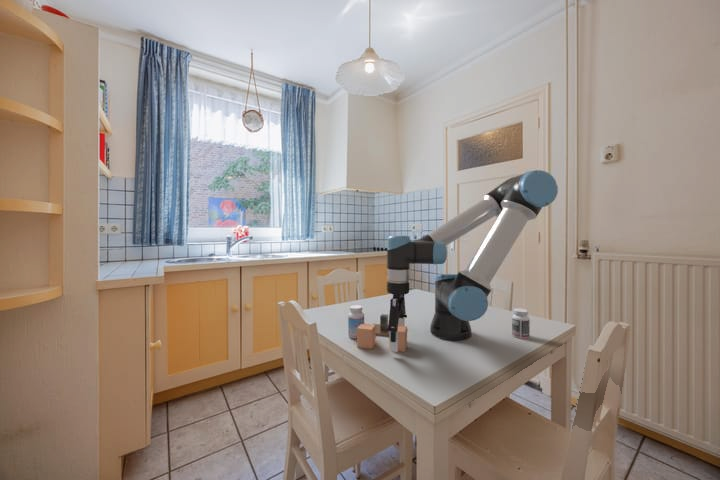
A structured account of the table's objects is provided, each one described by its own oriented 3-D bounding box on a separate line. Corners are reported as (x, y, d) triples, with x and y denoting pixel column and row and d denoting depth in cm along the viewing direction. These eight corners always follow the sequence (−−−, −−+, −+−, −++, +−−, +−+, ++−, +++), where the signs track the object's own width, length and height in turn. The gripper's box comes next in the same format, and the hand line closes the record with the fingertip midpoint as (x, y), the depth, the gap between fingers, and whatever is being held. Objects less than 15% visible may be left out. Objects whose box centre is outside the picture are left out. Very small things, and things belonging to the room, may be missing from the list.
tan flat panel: (406, 328, 116) (406, 313, 116) (402, 337, 107) (402, 321, 107) (372, 325, 121) (372, 310, 120) (366, 334, 111) (366, 317, 111)
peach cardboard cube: (375, 343, 102) (375, 324, 102) (371, 348, 97) (371, 329, 97) (361, 341, 104) (361, 323, 104) (357, 347, 99) (357, 328, 99)
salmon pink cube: (407, 345, 100) (407, 326, 100) (404, 351, 95) (404, 331, 95) (392, 343, 101) (392, 325, 101) (389, 349, 97) (389, 330, 96)
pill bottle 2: (528, 334, 109) (529, 308, 109) (530, 340, 104) (530, 313, 103) (511, 332, 111) (511, 307, 111) (512, 337, 106) (512, 311, 106)
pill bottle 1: (362, 339, 105) (362, 309, 105) (346, 338, 107) (346, 308, 106) (365, 333, 111) (365, 305, 111) (350, 332, 113) (350, 304, 112)
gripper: (394, 274, 110) (393, 329, 111) (378, 287, 87) (377, 356, 87) (413, 275, 108) (412, 331, 109) (403, 289, 84) (402, 360, 85)
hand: (397, 343), depth 98 cm, fingers open, 13 cm apart
